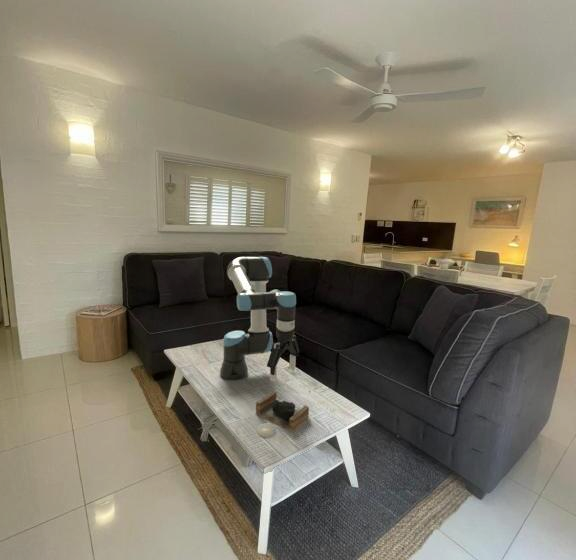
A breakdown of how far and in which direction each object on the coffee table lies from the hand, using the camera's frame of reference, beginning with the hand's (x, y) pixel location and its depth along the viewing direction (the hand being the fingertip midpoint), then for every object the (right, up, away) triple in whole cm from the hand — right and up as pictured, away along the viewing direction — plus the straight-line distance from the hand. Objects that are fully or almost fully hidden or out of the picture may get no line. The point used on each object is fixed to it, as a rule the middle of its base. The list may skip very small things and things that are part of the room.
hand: (283, 374), depth 134 cm
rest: (-1, -19, +2) cm, 19 cm away
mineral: (+1, -18, +1) cm, 18 cm away
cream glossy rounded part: (-7, -21, -8) cm, 23 cm away
